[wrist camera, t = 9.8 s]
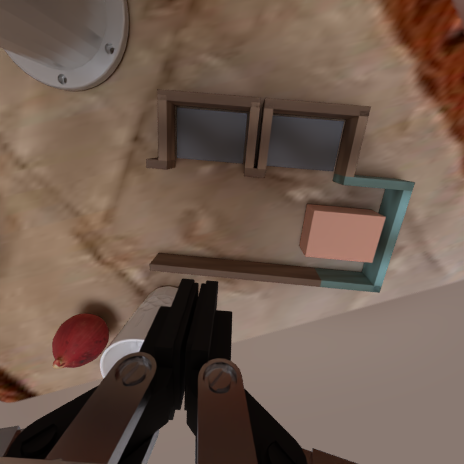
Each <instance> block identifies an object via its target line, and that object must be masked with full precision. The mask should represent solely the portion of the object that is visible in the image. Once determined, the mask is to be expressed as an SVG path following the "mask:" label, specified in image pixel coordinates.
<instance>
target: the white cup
mask: <svg viewBox="0 0 464 464" xmlns="http://www.w3.org/2000/svg"><path fill="white" fill-rule="evenodd" d="M177 290H178V288H175V287H171V286H166V287H160V288H157V289H155V290H154V291H153V292H151V293H150V294H149V295H148V296H147V298H146V299H145V300H144V302H143V303H142V304H141V305H140V306H139V307H138V308H137V310H136V311H135V312H134V314H133V315H132V316H131V317H130V318H129V320H128V321H127V322H126V324H125V325H124V326H123V328H122V329H121V330H120V332H119V333H118V334H117V336H116V337H115V338H114V340H113V341H112V342H111V343H110V345H109V346H108V347H107V349H106V350H105V351H104V353H103V355H102V357H101V360H100V370H101V374H102V376H103V378H105V376H106V375H107V374H108V372H109V371H110V369H111V368H112V367H113V365H114V364H115V363H116V362H117V361H118V360H119V359H121V358H122V357H124V356H126V355H128V354H131V353H136V352H139V351H140V348H141V346H142V344H143V342H144V340H145V338H146V335H147V333H148V331H149V329H150V327H151V325H152V323H153V320H154V318H155V316H156V314H157V312H158V310H159V308H160V307H161V306H169V307H171V305H172V303H173V300H174V298H175V295H176V293H177Z"/></svg>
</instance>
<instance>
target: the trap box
mask: <svg viewBox="0 0 464 464" xmlns="http://www.w3.org/2000/svg"><path fill="white" fill-rule="evenodd" d="M157 99H158V157H159V158H152V159H146V168H156V169H170V168H174V167H175V106H186V107H198V108H210V109H222V110H234V111H246V112H250V117H249V128H248V138H247V149H246V159H245V170H244V176H247V177H258V178H265V173H266V166H276V167H288V168H299V169H311V170H322V171H334V166H335V161H336V157H337V152H338V147H339V142H340V138H341V133H342V128H343V124H344V121H333V120H321V119H309V118H297V117H285V116H273V114H283V115H295V116H307V117H319V118H331V119H343V120H346V121H345V126H344V130H343V135H342V140H341V145H340V149H339V154H338V159H337V163H336V168H335V173H334V177H333V181H334V182H337V183H339V184H342V185H349V186H361V187H372V188H383V189H385V193H384V196H383V199H382V203H381V206H380V210H379V214H381V215H383V216H385V217H386V218H385V221H384V225H383V228H382V232H381V235H380V238H379V242H378V245H377V248H376V252H375V255H374V258H373V262H372V263H369V262H364V266H363V269H362V272H353V271H343V270H332V269H321V268H311V267H300V266H290V265H279V264H269V263H258V262H248V261H237V260H226V259H216V258H205V257H195V256H184V255H174V254H163V253H158V254H157V256H156V257H155V258H154V259H153V261H152V262H151V263H150V271H160V272H171V273H181V274H191V275H202V276H212V277H223V278H233V279H243V280H254V281H264V282H275V283H285V284H295V285H306V286H316V287H327V288H337V289H347V290H358V291H368V292H378V293H379V292H380V289H381V286H382V283H383V280H384V277H385V274H386V271H387V268H388V265H389V261H390V258H391V255H392V252H393V249H394V246H395V243H396V240H397V237H398V234H399V231H400V227H401V224H402V221H403V218H404V215H405V212H406V209H407V206H408V203H409V200H410V196H411V193H412V190H413V187H414V184H415V182H410V181H405V180H400V179H394V178H382V177H371V176H359V175H355V171H356V166H357V162H358V158H359V154H360V150H361V146H362V141H363V137H364V133H365V129H366V125H367V121H368V116H369V112H370V108H371V107H370V106H358V105H345V104H333V103H321V102H308V101H296V100H284V99H271V98H265V100H264V103H263V109H262V118H261V127H260V136H259V145H258V154H257V163H256V166H254V158H255V148H256V139H257V129H258V120H259V111H260V101H261V98H259V97H247V96H235V95H222V94H210V93H198V92H185V91H173V90H161V89H157ZM246 123H247V113H236V112H224V111H212V110H200V109H188V108H177V158H184V159H196V160H207V161H219V162H230V163H242V164H243V155H244V145H245V134H246Z"/></svg>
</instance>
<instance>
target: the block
mask: <svg viewBox="0 0 464 464" xmlns="http://www.w3.org/2000/svg"><path fill="white" fill-rule="evenodd" d="M385 218H386V217H385V216H383V215H381V214H379V213H377V212H375V211H373V210H369V209H358V208H347V207H335V206H324V205H313V204H307V207H306V213H305V218H304V223H303V229H302V234H301V240H300V245H299V246H300V248H301V250H302V251H303V253H304V255H305V257H316V258H326V259H337V260H348V261H358V262H369V263H372V262H373V258H374V255H375V252H376V248H377V245H378V242H379V238H380V235H381V232H382V228H383V225H384V221H385Z"/></svg>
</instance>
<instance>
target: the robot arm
mask: <svg viewBox="0 0 464 464" xmlns="http://www.w3.org/2000/svg"><path fill="white" fill-rule="evenodd" d="M128 30H129V15H128V7H127V0H0V48H3V49H4V50H5V51H6V53H7V54H8V55H9V56H10V58H11V59H12V60H13V61H14V62H15V63H16V64H17V65H18V66H19V67H20V68H21V69H22V70H23V71H24V72H25V73H27V74H28V75H30V76H31V77H33V78H34V79H36V80H37V81H40V82H42V83H44V84H46V85H48V86H51V87H55V88H58V89H61V90H69V91H80V90H86V89H89V88H92V87H95V86H97V85H99V84H100V83H102V82H103V81H105V80H106V79H107V78H108V77H109V76H110V75H111V74H112V73H113V72H114V70H115V69H116V67H117V66H118V64H119V63H120V61H121V59H122V56H123V53H124V51H125V48H126V43H127V38H128ZM113 50H114V52H113V54H112V51H113ZM217 294H218V281H206V284H204V283H202V284H201V288H200V292H199V296H198V283H194V280H193V279H182V280H181V283H180V285H179V288H178V290H177V293H176V295H175V298H174V300H173V303H172V305H171V307H169V306H161V307H160V308H159V310H158V312H157V314H156V316H155V318H154V320H153V323H152V325H151V327H150V329H149V331H148V333H147V335H146V338H145V340H144V342H143V344H142V346H141V348H140V351H139V352H136V353H131V354H128V355H126V356H124V357H122V358H121V359H119V360H118V361H117V362H116V363H115V364H114V365H113V367H112V368H111V369H110V371H109V372H108V374H107V375H106V376H105V378H104V379H103V380H102V382H101V383H100V385H98V386H97V387H95V388H93V389H91V390H89V391H88V392H86V393H84V394H82V395H81V396H79V397H77V398H75V399H74V400H72V401H70V402H68V403H66V404H65V405H63V406H61V407H60V408H58V409H56V410H54V411H52V412H50V413H49V414H47V415H45V416H43V417H42V418H40V419H38V420H36V421H35V422H33V423H32V424H31V425H29V426H28V427H27V428H25V429H20V427H19V426H14V427H8V428H2V429H0V464H147V462H148V459H149V457H150V455H151V452H152V450H153V447H154V445H155V442H156V440H157V437H158V433H159V429H160V428H161V427H163V426H164V425H165V424H166V423H167V422H168V420H173V417H174V413H175V410H180V409H181V405H182V400H183V396H184V391H185V408H184V409H185V410H187V425H188V426H189V428H190V429H191V431H192V432H193V433H194V435H195V436H196V440H195V464H357V463H354V462H351V461H348V460H346V459H343V458H340V457H337V456H334V455H331V454H328V453H326V452H323V451H320V450H317V449H314V448H313V449H312V451H309V450H305V449H303V448H301V447H300V445H299V444H298V443H297V441H296V440H295V439H294V438H293V437H292V436H291V435H290V434H289V433H288V432H287V431H286V430H285V429H284V428H283V427H282V426H281V425H280V424H279V423H278V422H277V421H276V420H275V419H274V418H273V417H272V416H271V415H270V414H269V413H268V412H267V411H266V410H265V409H264V408H263V407H262V406H261V405H260V404H259V403H258V402H257V401H256V400H255V399H254V398H253V397H252V396H251V395H250V394H249V393H248V392H247V391H246V390H245V389H244V385H243V379H242V375H241V372H240V369H239V368H238V367H237V366H236V364H234V363H233V362H232V361H231V335H232V312H231V311H218V310H216V308H217Z"/></svg>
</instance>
